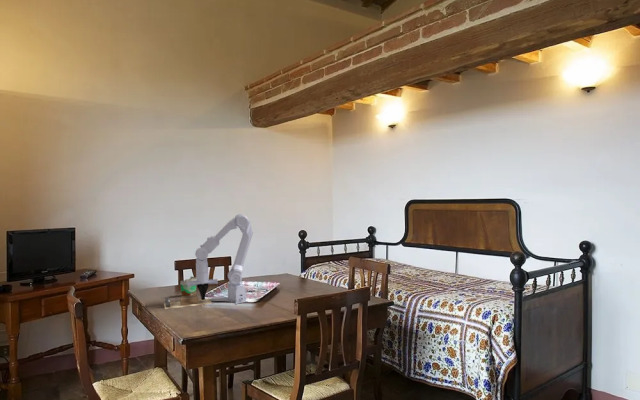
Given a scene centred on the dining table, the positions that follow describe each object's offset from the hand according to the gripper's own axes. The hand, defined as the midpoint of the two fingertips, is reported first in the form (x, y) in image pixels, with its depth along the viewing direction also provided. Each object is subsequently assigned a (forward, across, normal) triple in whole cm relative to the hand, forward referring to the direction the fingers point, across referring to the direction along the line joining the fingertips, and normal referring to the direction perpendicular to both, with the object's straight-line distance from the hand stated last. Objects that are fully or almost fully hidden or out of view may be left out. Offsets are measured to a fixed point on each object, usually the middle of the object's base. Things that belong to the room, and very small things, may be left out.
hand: (203, 299), depth 227 cm
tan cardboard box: (+1, +7, 0) cm, 7 cm away
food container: (+3, +4, -19) cm, 20 cm away
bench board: (+3, +7, 0) cm, 8 cm away
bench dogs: (+1, +17, 0) cm, 17 cm away
